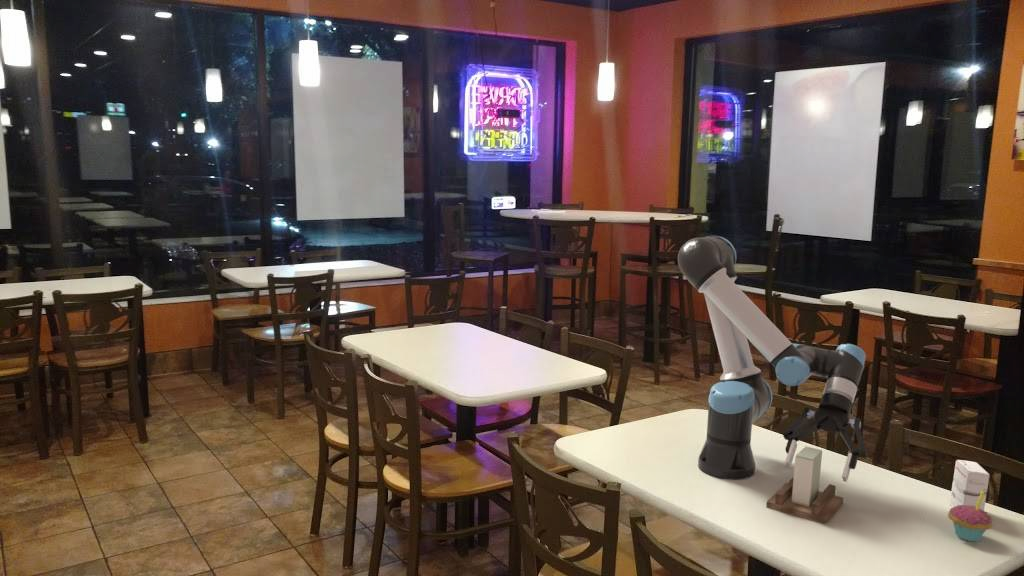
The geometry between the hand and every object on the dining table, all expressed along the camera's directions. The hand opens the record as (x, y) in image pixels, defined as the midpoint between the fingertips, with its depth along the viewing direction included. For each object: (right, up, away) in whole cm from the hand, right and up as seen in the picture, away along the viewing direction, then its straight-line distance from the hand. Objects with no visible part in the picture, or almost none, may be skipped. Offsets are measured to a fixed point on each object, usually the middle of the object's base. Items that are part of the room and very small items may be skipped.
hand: (815, 472), depth 188 cm
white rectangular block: (+36, -10, -2) cm, 37 cm away
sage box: (-3, -7, -1) cm, 7 cm away
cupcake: (+29, -11, -15) cm, 34 cm away
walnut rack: (-3, -8, -1) cm, 8 cm away
